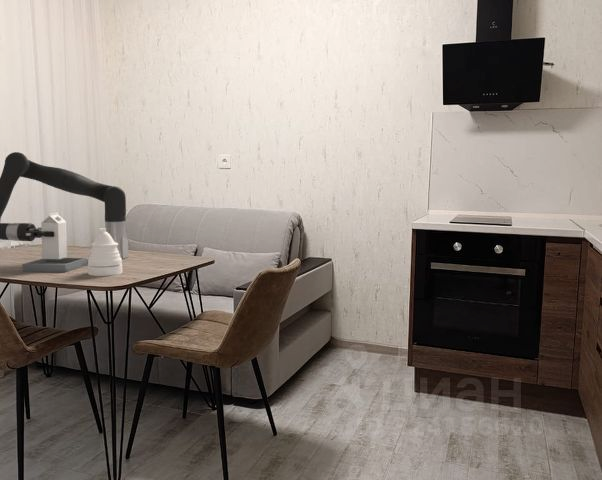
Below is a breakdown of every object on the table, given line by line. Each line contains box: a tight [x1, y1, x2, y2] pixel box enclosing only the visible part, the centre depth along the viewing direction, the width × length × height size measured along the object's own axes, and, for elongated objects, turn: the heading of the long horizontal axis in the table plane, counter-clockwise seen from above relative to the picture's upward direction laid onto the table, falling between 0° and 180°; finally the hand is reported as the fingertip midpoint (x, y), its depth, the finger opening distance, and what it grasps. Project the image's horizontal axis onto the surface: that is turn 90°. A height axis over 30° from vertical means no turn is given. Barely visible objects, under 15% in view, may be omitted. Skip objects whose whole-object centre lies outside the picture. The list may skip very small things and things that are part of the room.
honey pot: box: [87, 227, 123, 277], centre depth 219 cm, size 13×13×18 cm
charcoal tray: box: [22, 257, 88, 273], centre depth 230 cm, size 18×18×3 cm
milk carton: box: [40, 211, 68, 259], centre depth 229 cm, size 7×7×19 cm
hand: (58, 233), depth 228 cm, fingers closed on milk carton, 7 cm apart
